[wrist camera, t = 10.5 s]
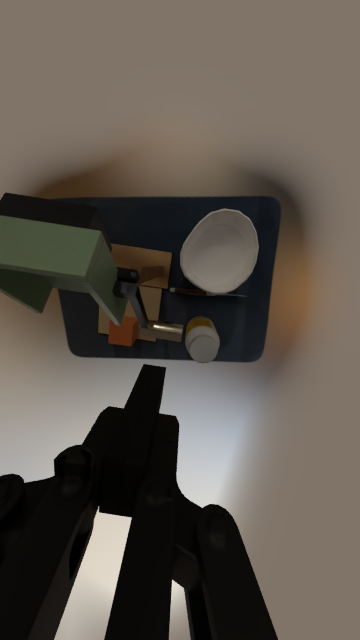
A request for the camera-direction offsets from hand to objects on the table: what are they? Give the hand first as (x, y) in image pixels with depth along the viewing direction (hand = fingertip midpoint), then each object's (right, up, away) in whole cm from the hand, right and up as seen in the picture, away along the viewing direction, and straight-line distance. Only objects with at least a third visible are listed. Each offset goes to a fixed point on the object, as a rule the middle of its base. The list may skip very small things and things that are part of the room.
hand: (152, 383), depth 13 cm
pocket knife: (+7, +9, +22) cm, 25 cm away
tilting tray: (-5, +9, +6) cm, 12 cm away
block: (-8, +1, +22) cm, 24 cm away
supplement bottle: (+6, +3, +24) cm, 25 cm away
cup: (+7, +15, +20) cm, 26 cm away
